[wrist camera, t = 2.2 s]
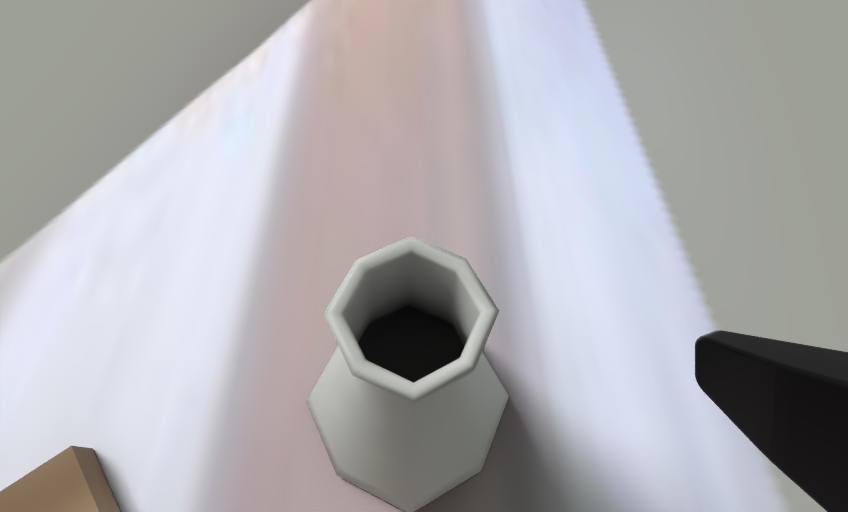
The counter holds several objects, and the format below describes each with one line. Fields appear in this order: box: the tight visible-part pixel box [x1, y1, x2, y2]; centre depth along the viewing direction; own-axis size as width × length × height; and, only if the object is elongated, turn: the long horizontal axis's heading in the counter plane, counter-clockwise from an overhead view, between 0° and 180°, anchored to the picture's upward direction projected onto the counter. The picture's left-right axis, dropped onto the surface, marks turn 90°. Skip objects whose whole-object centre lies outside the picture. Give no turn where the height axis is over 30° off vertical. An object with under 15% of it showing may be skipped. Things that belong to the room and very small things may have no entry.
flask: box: [307, 236, 509, 512], centre depth 13 cm, size 7×7×10 cm
